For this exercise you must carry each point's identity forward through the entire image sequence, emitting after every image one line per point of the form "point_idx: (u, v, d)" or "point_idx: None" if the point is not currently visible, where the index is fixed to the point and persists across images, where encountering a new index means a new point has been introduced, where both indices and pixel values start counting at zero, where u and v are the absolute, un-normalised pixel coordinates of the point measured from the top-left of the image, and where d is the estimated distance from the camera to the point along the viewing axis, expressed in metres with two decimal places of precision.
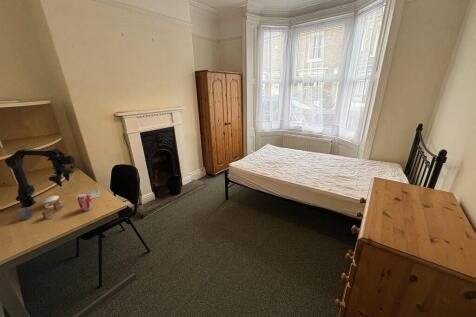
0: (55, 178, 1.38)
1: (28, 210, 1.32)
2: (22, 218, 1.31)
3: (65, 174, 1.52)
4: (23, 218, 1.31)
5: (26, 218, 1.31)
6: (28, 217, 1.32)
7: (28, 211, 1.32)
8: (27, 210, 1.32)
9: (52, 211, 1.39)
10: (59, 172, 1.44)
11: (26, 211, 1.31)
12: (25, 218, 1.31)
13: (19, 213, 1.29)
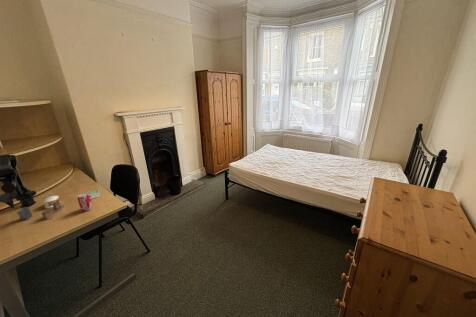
0: None
1: (28, 210, 1.32)
2: (22, 218, 1.31)
3: None
4: (23, 218, 1.31)
5: (26, 218, 1.31)
6: (28, 217, 1.32)
7: (28, 211, 1.32)
8: (27, 210, 1.32)
9: (52, 211, 1.39)
10: None
11: (26, 211, 1.31)
12: (25, 218, 1.31)
13: (19, 213, 1.29)
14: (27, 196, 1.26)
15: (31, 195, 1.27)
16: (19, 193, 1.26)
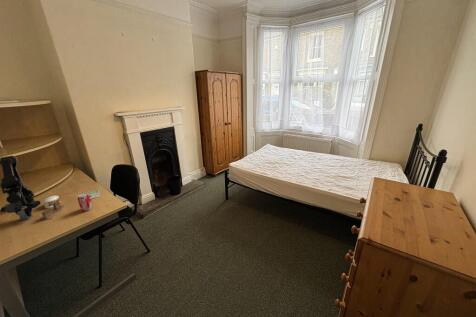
0: None
1: None
2: (22, 218, 1.31)
3: None
4: (23, 218, 1.31)
5: (26, 218, 1.31)
6: (28, 217, 1.32)
7: None
8: None
9: (52, 211, 1.39)
10: None
11: None
12: (25, 218, 1.31)
13: (19, 213, 1.29)
14: (31, 206, 1.28)
15: (35, 205, 1.30)
16: (24, 203, 1.29)
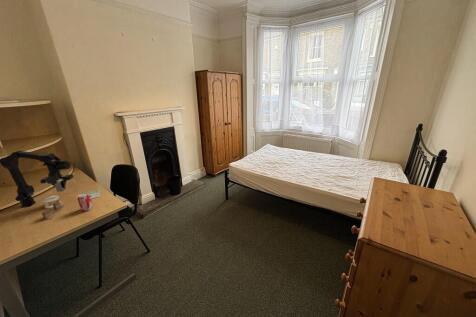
0: None
1: None
2: (58, 189, 1.47)
3: None
4: (59, 189, 1.47)
5: (61, 189, 1.47)
6: (63, 189, 1.48)
7: None
8: None
9: (52, 211, 1.39)
10: None
11: (61, 183, 1.47)
12: (61, 189, 1.47)
13: (56, 185, 1.45)
14: (67, 178, 1.45)
15: (70, 178, 1.46)
16: (60, 176, 1.45)
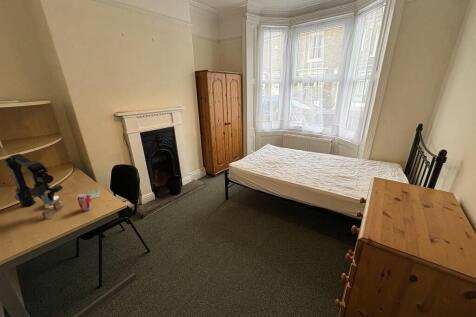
0: None
1: None
2: (45, 202, 1.33)
3: None
4: (46, 202, 1.33)
5: (49, 202, 1.34)
6: (51, 201, 1.35)
7: None
8: None
9: (52, 211, 1.39)
10: None
11: None
12: (48, 202, 1.34)
13: (42, 197, 1.32)
14: (55, 190, 1.31)
15: (58, 189, 1.33)
16: (47, 187, 1.32)
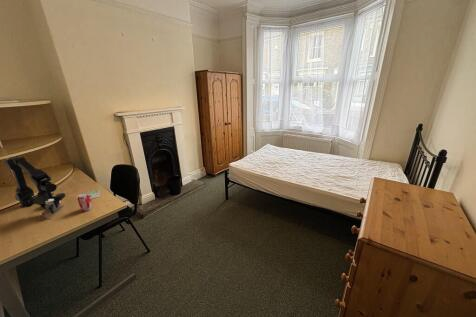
0: None
1: (54, 204, 1.38)
2: None
3: None
4: None
5: (53, 212, 1.37)
6: (55, 210, 1.38)
7: (54, 205, 1.38)
8: (53, 204, 1.37)
9: None
10: None
11: (53, 205, 1.36)
12: (52, 212, 1.36)
13: (46, 207, 1.34)
14: (58, 198, 1.33)
15: (61, 197, 1.35)
16: (50, 195, 1.34)
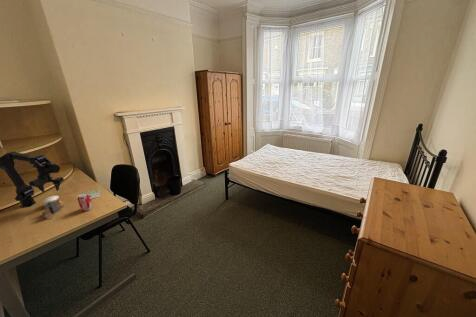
0: None
1: (54, 204, 1.38)
2: None
3: None
4: None
5: (53, 212, 1.37)
6: (55, 210, 1.38)
7: (54, 205, 1.38)
8: (53, 204, 1.37)
9: None
10: None
11: (53, 205, 1.36)
12: (52, 212, 1.36)
13: (46, 207, 1.34)
14: (56, 182, 1.40)
15: (60, 181, 1.42)
16: (49, 179, 1.41)
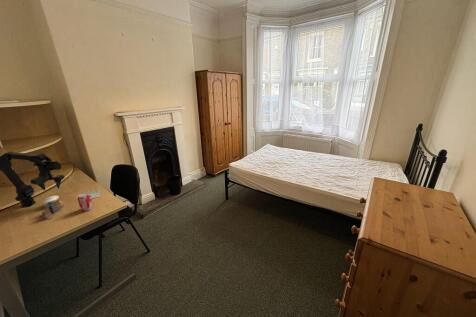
0: None
1: (54, 204, 1.38)
2: None
3: None
4: None
5: (53, 212, 1.37)
6: (55, 210, 1.38)
7: (54, 205, 1.38)
8: (53, 204, 1.37)
9: None
10: None
11: (53, 205, 1.36)
12: (52, 212, 1.36)
13: (46, 207, 1.34)
14: (57, 179, 1.43)
15: (60, 178, 1.45)
16: (50, 176, 1.43)
